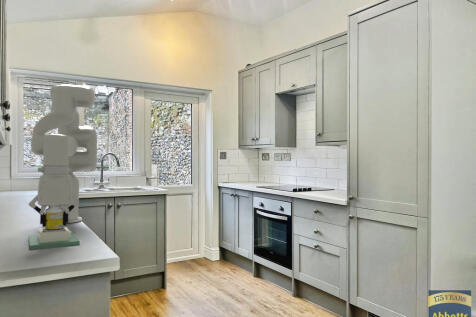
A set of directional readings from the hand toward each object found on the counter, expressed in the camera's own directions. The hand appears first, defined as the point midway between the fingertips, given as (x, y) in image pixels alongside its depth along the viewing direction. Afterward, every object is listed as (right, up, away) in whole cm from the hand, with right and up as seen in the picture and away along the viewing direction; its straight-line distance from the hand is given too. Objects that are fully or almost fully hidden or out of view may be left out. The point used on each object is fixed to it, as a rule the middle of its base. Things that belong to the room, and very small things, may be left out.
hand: (54, 225), depth 117 cm
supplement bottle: (0, -2, 0) cm, 2 cm away
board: (-1, -6, +1) cm, 6 cm away
